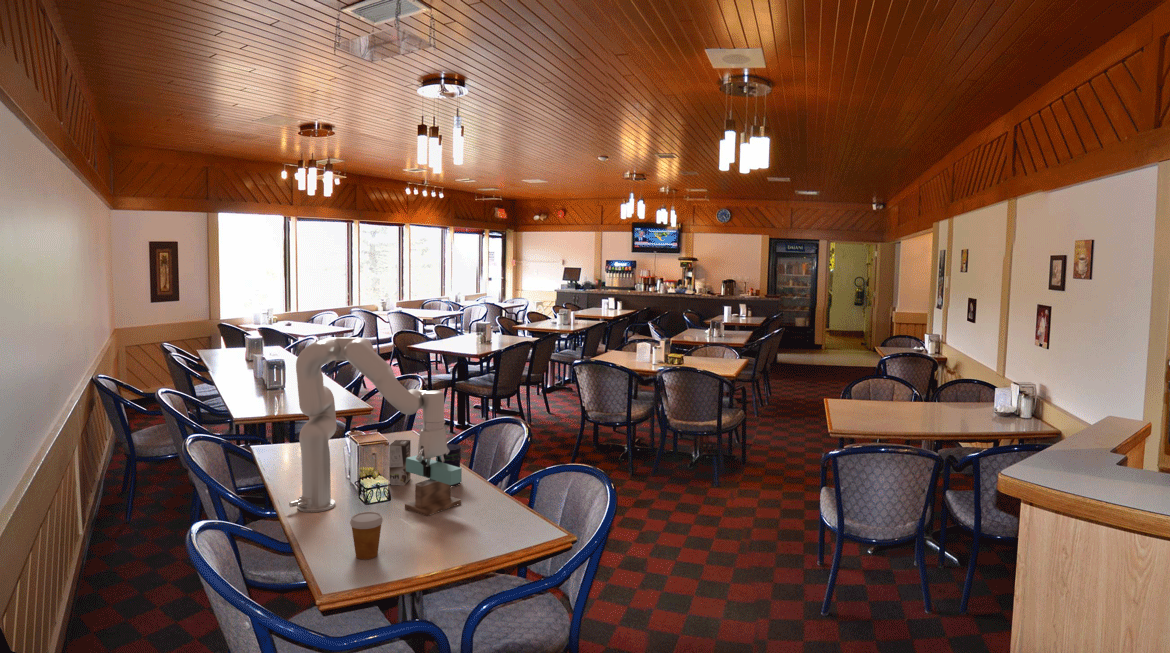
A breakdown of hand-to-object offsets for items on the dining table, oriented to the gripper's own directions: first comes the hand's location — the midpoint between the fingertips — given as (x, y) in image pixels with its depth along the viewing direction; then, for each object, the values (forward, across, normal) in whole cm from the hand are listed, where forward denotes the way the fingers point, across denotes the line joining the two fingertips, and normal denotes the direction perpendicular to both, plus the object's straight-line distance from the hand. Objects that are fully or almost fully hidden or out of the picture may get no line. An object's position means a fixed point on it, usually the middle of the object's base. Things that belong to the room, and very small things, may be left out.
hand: (433, 474), depth 253 cm
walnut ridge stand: (+12, 0, 0) cm, 12 cm away
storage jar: (+12, -21, -15) cm, 28 cm away
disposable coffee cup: (+12, +41, +17) cm, 46 cm away
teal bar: (+1, 0, 0) cm, 1 cm away
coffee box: (+12, -10, -31) cm, 35 cm away
